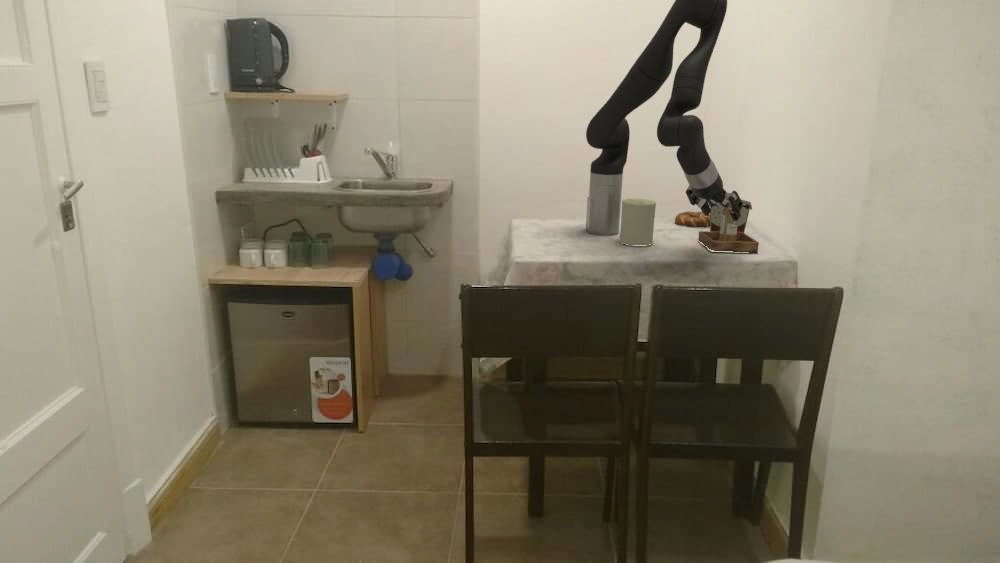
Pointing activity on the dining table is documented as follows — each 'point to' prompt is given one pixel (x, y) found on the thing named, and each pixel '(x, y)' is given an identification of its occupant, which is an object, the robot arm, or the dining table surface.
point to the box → (740, 244)
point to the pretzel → (692, 219)
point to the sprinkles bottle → (728, 226)
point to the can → (637, 221)
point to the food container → (717, 214)
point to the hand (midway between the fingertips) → (722, 215)
